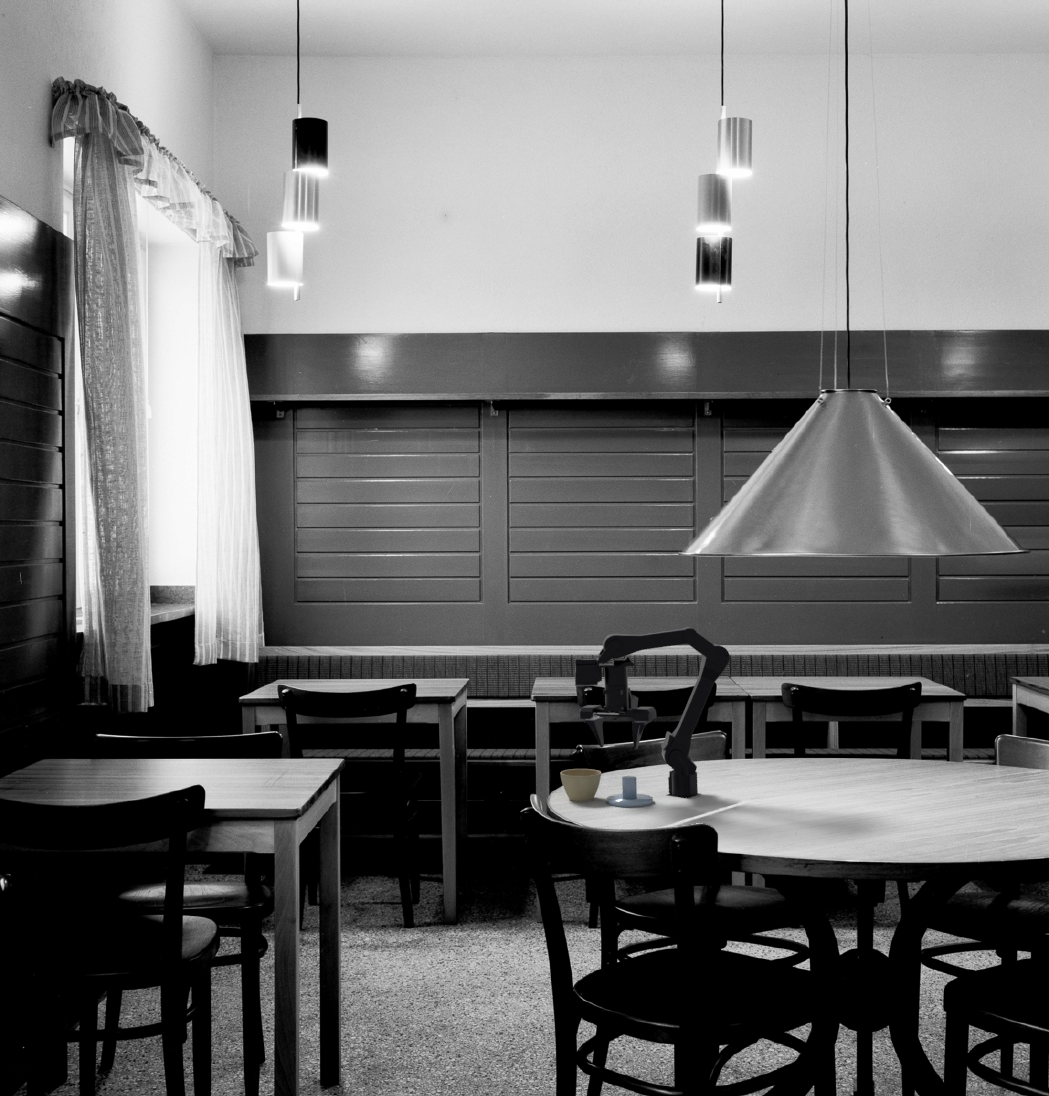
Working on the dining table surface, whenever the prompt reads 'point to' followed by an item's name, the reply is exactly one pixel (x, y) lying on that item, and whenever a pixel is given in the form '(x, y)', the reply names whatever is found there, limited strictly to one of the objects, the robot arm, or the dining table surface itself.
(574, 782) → the flower pot
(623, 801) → the lid
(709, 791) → the dining table surface
